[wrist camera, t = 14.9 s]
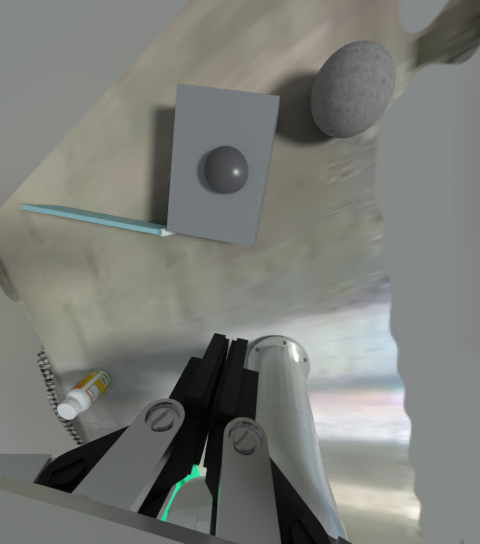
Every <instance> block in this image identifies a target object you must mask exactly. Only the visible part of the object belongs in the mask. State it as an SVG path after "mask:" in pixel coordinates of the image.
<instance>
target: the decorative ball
mask: <svg viewBox="0 0 480 544" xmlns="http://www.w3.org/2000/svg"><path fill="white" fill-rule="evenodd" d="M394 85H395V66H394V62H393V60H392V57H391V56H390V54H389V53H388V51H387V50H386V49H385V48H384V47H383V46H381V45H380V44H378V43H376V42H373V41H356V42H353V43H350V44H348V45H345V46H344V47H342V48H340V49H339V50H338V51H336V52H335V53H334V54H333V55H332V56H331V57H330V58H329V59H328V60H327V61H326V62H325V64H324V65H323V66H322V68H321V69H320V71H319V73H318V75H317V77H316V79H315V82H314V85H313V88H312V92H311V113H312V116H313V119H314V121H315V123H316V125H317V126H318V128H319V129H320V130H321V131H322V132H324V133H325V134H327V135H329V136H332V137H336V138H347V137H352V136H355V135H357V134H360V133H362V132H363V131H365V130H366V129H368V128H369V127H370V126H372V125H373V124H374V123H375V122H376V121H377V120H378V119H379V117H380V116H381V115H382V114H383V112H384V110H385V109H386V107H387V105H388V103H389V101H390V99H391V96H392V94H393V90H394Z"/></svg>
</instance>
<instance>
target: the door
mask: <svg viewBox="0 0 480 544" xmlns="http://www.w3.org/2000/svg"><path fill="white" fill-rule="evenodd" d="M21 206H22V209H24V210H29V211H35V212H40V213H45V214H51V215H56V216H61V217H67V218H72V219H77V220H83V221H88V222H93V223H99V224H104V225H109V226H115V227H120V228H125V229H131V230H136V231H141V232H147V233H152V234H157V235H159V236H161V237H163V236H168V235H173V234H177V233H174V232H168V231H167V226H166V225H161V224H155V223H150V222H144V221H139V220H133V219H128V218H122V217H117V216H111V215H106V214H101V213H95V212H90V211H84V210H79V209H73V208H68V207H62V206H53V205H28V204H21Z"/></svg>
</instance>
